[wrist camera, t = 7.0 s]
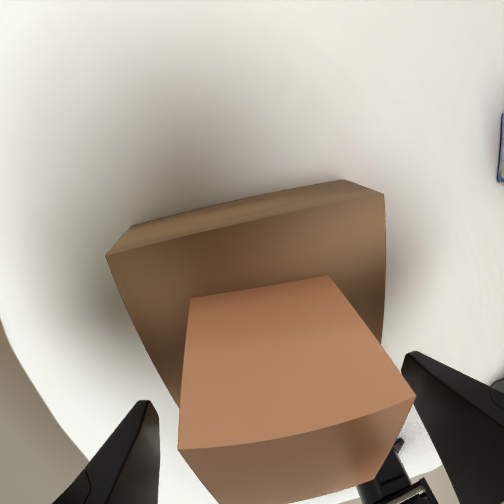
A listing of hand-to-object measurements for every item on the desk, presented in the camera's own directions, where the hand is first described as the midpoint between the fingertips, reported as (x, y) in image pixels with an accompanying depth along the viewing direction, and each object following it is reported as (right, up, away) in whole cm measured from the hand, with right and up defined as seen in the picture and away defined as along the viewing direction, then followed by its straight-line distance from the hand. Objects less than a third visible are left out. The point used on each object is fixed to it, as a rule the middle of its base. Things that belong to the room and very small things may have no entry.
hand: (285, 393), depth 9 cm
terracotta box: (0, +1, +3) cm, 3 cm away
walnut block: (-1, +2, +6) cm, 7 cm away
